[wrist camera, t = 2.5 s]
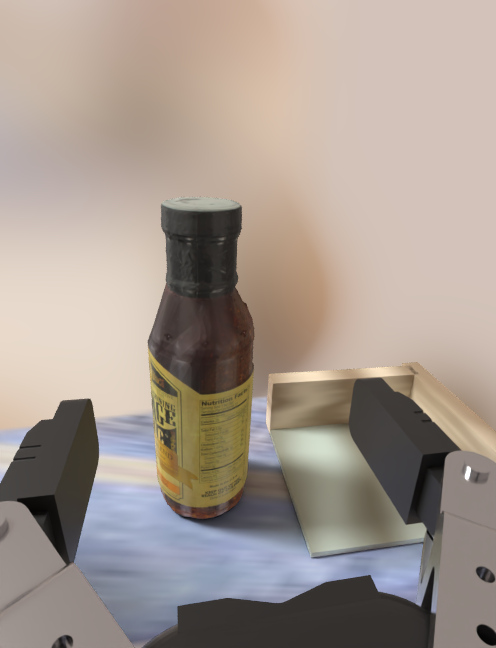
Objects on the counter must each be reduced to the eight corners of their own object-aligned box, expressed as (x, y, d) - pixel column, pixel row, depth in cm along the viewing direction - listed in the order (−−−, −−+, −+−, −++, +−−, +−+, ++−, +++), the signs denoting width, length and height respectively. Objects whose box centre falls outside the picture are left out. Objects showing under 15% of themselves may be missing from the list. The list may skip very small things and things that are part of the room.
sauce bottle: (159, 462, 31) (140, 191, 23) (239, 454, 32) (248, 193, 24) (157, 537, 25) (130, 208, 17) (255, 524, 26) (274, 209, 18)
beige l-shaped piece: (311, 557, 24) (319, 495, 22) (264, 418, 36) (267, 371, 34) (514, 529, 26) (539, 470, 24) (407, 407, 38) (417, 362, 36)
